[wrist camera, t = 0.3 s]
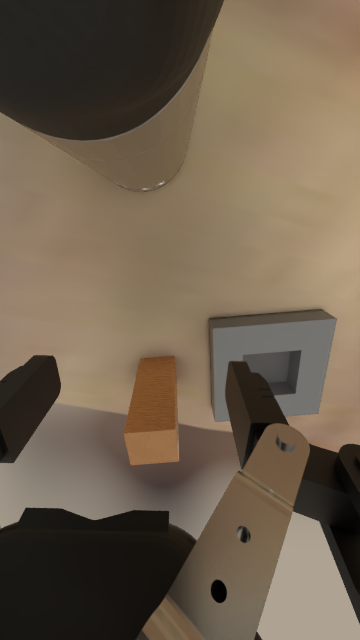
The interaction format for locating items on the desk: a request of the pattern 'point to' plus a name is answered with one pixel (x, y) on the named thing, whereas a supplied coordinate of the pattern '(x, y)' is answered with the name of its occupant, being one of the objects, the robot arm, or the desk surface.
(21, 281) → the desk surface
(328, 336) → the well stand
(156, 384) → the bracket post
